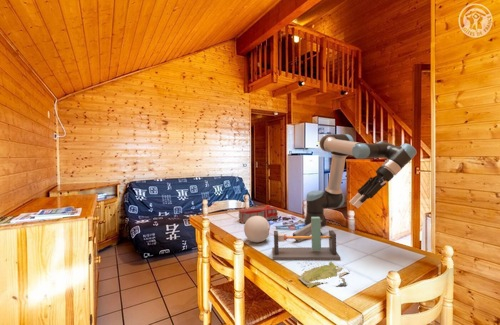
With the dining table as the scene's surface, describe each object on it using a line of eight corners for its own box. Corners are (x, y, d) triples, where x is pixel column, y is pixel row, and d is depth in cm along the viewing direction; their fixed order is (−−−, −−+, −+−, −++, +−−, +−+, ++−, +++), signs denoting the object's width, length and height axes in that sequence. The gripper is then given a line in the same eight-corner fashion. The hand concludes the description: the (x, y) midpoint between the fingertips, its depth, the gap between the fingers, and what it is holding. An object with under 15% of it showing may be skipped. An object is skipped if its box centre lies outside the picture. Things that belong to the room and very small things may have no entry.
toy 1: (278, 220, 188) (278, 207, 188) (242, 224, 180) (241, 211, 179) (273, 216, 198) (273, 204, 198) (238, 221, 190) (237, 208, 189)
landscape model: (323, 301, 87) (324, 295, 86) (294, 279, 99) (295, 274, 99) (363, 281, 100) (364, 275, 99) (333, 264, 112) (334, 259, 112)
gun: (327, 232, 152) (324, 217, 151) (298, 250, 140) (294, 234, 138) (324, 231, 154) (321, 216, 153) (295, 249, 142) (291, 233, 140)
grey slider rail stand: (333, 250, 127) (333, 228, 127) (340, 260, 115) (340, 236, 115) (272, 250, 130) (271, 229, 129) (272, 260, 118) (272, 236, 118)
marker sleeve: (319, 247, 123) (319, 216, 123) (321, 250, 120) (320, 218, 120) (311, 247, 124) (311, 216, 123) (312, 250, 121) (312, 218, 120)
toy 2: (275, 242, 141) (274, 216, 140) (252, 248, 134) (251, 221, 133) (261, 235, 154) (261, 211, 153) (240, 240, 147) (239, 215, 146)
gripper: (373, 164, 127) (342, 196, 129) (391, 166, 109) (354, 203, 111) (384, 174, 127) (352, 206, 129) (403, 178, 109) (366, 215, 110)
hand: (353, 205), depth 120 cm, fingers open, 5 cm apart
